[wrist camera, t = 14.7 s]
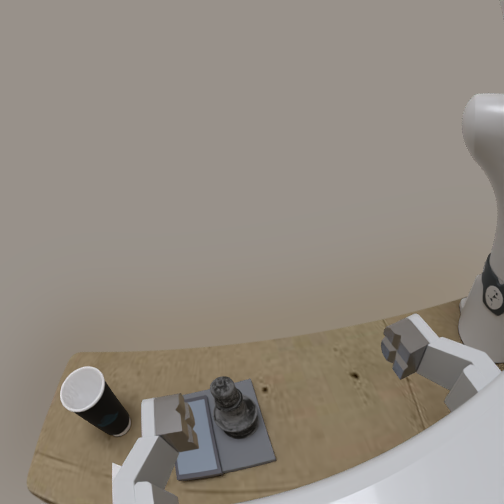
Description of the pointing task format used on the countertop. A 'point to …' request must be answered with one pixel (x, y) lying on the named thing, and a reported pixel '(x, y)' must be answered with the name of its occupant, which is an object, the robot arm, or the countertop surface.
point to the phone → (200, 446)
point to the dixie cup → (94, 401)
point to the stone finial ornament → (233, 409)
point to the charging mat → (240, 450)
